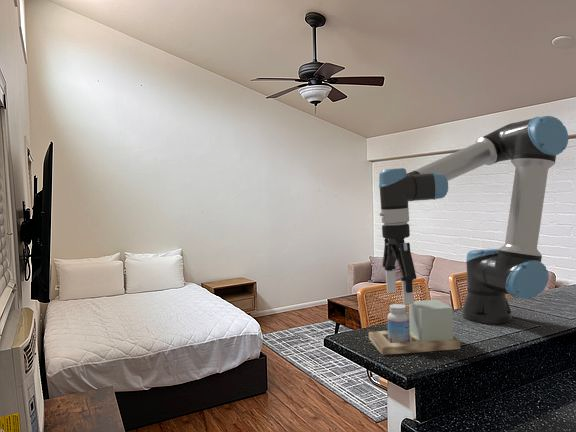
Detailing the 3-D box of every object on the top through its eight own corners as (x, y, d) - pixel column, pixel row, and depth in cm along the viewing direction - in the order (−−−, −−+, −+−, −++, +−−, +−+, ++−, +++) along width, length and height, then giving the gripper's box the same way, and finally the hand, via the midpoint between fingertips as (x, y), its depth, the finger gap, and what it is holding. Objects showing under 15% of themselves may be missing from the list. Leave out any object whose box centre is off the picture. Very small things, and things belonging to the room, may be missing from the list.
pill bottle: (411, 348, 116) (410, 309, 115) (388, 348, 117) (387, 308, 117) (409, 341, 122) (408, 303, 121) (387, 340, 123) (386, 303, 123)
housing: (438, 329, 125) (438, 299, 125) (453, 339, 116) (452, 307, 116) (409, 331, 124) (408, 301, 124) (422, 341, 115) (421, 309, 115)
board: (439, 333, 127) (438, 326, 127) (460, 348, 114) (460, 341, 114) (368, 338, 125) (368, 331, 125) (382, 354, 112) (382, 347, 112)
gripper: (369, 221, 130) (373, 288, 131) (398, 228, 105) (402, 311, 106) (393, 219, 130) (397, 286, 132) (426, 226, 106) (431, 308, 107)
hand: (399, 297), depth 119 cm, fingers open, 13 cm apart
